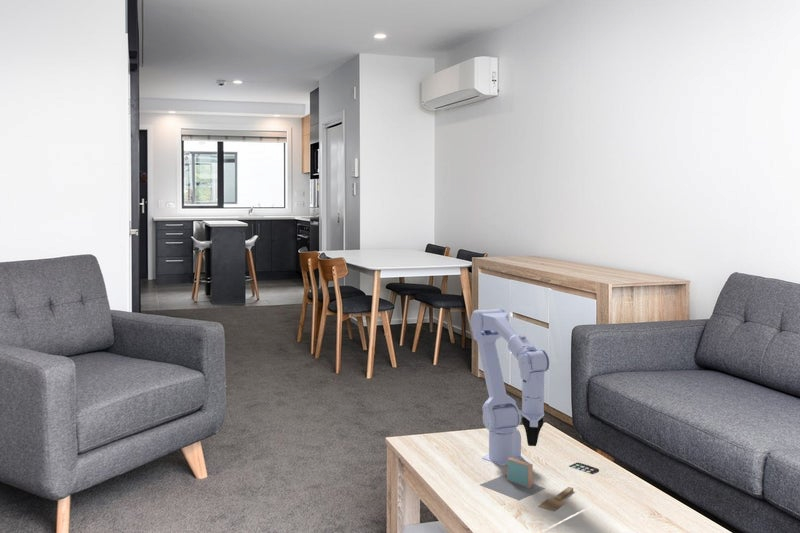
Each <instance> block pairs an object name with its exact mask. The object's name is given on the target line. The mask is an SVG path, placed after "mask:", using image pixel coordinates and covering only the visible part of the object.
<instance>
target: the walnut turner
mask: <svg viewBox="0 0 800 533" xmlns="http://www.w3.org/2000/svg"><path fill="white" fill-rule="evenodd" d="M573 492H574V487H571V486H567V487H566V488H565V489H563V490H561V492H559V493H558V494H557V495H555V496H554V498H551V497H548V498H547V499H545V500H544V501H543V502H541V503H540V504H539V505H537V507H538V508H542V509H545V510H549V511H552V512H556V511H557V510H559V509H560V508H561V507H562V506H563V505H565V504H566V501H563V500H564V499H565V498H566V497H567V496H569V495H570V494H572V493H573Z"/></svg>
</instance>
